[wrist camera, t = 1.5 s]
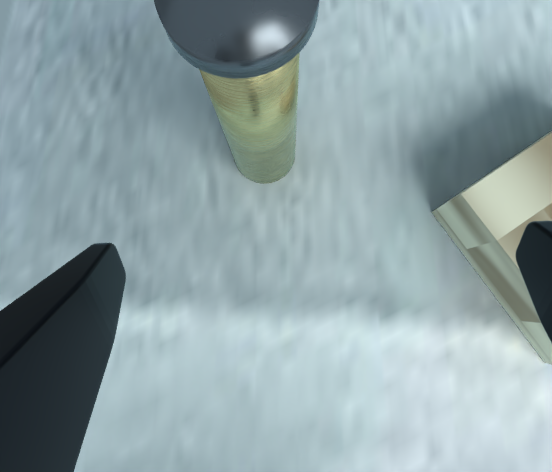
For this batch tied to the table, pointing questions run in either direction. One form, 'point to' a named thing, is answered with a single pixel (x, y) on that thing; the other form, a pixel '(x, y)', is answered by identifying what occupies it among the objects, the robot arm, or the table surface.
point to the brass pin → (247, 71)
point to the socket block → (505, 230)
